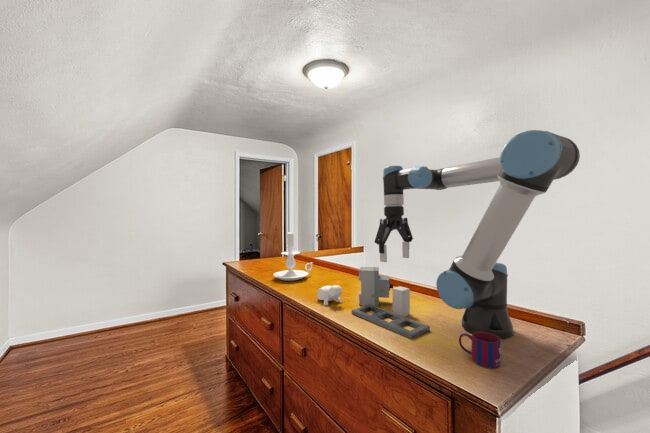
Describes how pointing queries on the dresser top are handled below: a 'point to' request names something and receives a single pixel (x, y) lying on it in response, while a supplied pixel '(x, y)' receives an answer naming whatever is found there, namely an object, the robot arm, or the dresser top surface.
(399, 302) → the peg
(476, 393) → the dresser top surface
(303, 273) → the candlestick
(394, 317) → the board with rectangular holes
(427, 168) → the robot arm
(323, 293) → the white animal figurine
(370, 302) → the circuit breaker
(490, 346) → the mug
